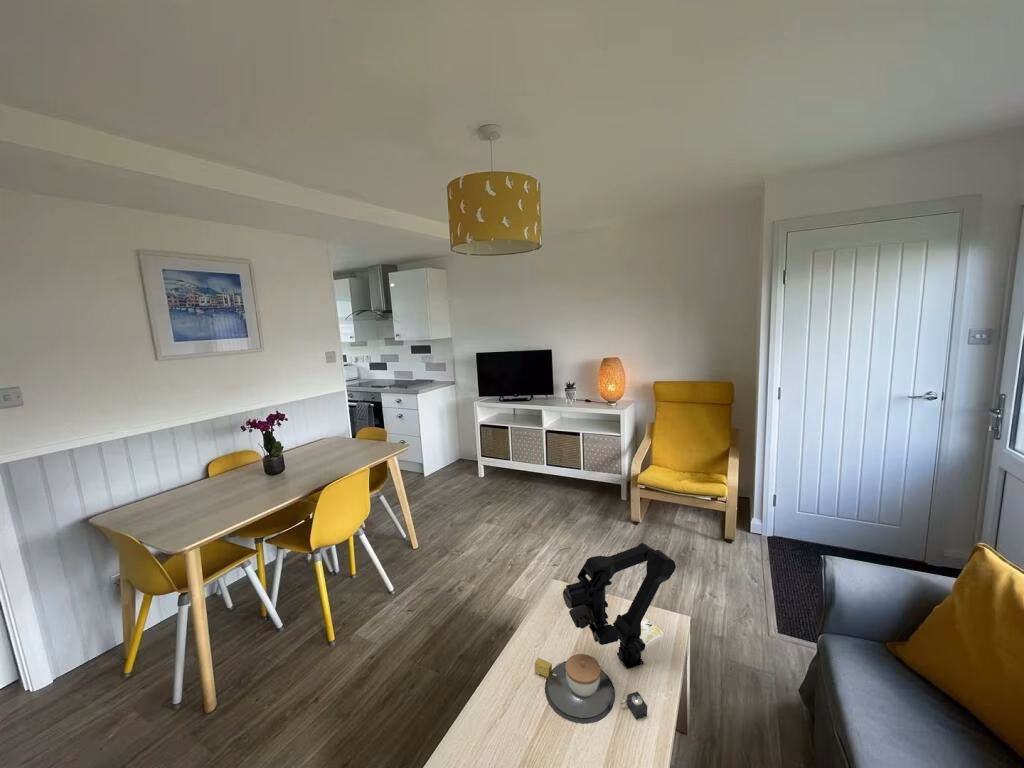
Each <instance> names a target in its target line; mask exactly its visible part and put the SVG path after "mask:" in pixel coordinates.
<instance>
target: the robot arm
mask: <svg viewBox="0 0 1024 768" xmlns="http://www.w3.org/2000/svg"><path fill="white" fill-rule="evenodd" d="M642 563H645V566H646V569H645V570H646V573H645V574H646V575H645V577H644V579H643V581H642V582H641V584H640V586H639V588H638V590H637V592H636V594H635V596H634V598H633V599H632V602H631V603H630V606H629V607H628V610H627V611H626V612H625V613H623V614H617V616H616V618H615V621H613V623H611V624H609V622H608V619H609V615H608V614H607V612H606V608H609V604H608V602H607V601H606V594H607V593H606V589H607V588H606V587H607V586H610V585H612V584H613V582H612V581H611V579H612V578H614V575H615V574H616V573H618V572H621V571H623V570H626V569H629V568H631V567H634V566H637V565H639V564H642ZM676 569H677V568H676V562H675V561H674V559H672V558H671V557H670V556H668V554H666V553H665V552H664V551H663V550H660V549H654V548H652V547H651V546H649V545H648V544H646V543H644V542H642V543H639V544H638V545H637V546H634V547H631V548H628V549H625V550H623V551H621V552H617V553H615V554H612V555H609V556H606V555H605V556H604V555H596V556H591V557H588V558H587V559H586V561H585V562H584V564H583V565H582V568H581V569H580V571H579V573H578V574H577V576H576V578H577V579H578V580H579V581H578V582H575V583H572V584H567V585H566V586H565V588H564V589H563V590H562V597H563V601H564V603H565V606H566V607H567V608H568V610H569V612H568V613H569V617H570V618H571V620H572V622H573V624H574V626H575V628H577V629H581V630H582V629H584V628H586V627H589V629H590V631H591V634H592V636H593V640H594V642H595V643H599V645H601V646H605V645H609V644H613V643H617V642H618V641H619V647H618V652H616V653H617V654H616V655H617V656H618V657H617V658H618V659H619V660H620V662H621V663H622V664H623V666H624V668H625V669H627V670H629V669H632V668H635V667H638V666H641V665H644V663H645V662H644V661H643V659H642V652H643V651H645V648H646V643H645V642H644V641H643V640H642V638H641V636H642V621H643V619H644V618H645V615H646V614H647V611H648V610H649V607H650V606H651V604H652V602H653V599H654V597H655V596H656V593H657V591H658V590H659V588H660V586H661V584H662V583H665V582H667V581H668V580H669V579H670V578H671V577H672V575H673V573H675V570H676ZM587 576H588V577H589V578H590V579H588V577H587Z"/></svg>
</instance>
